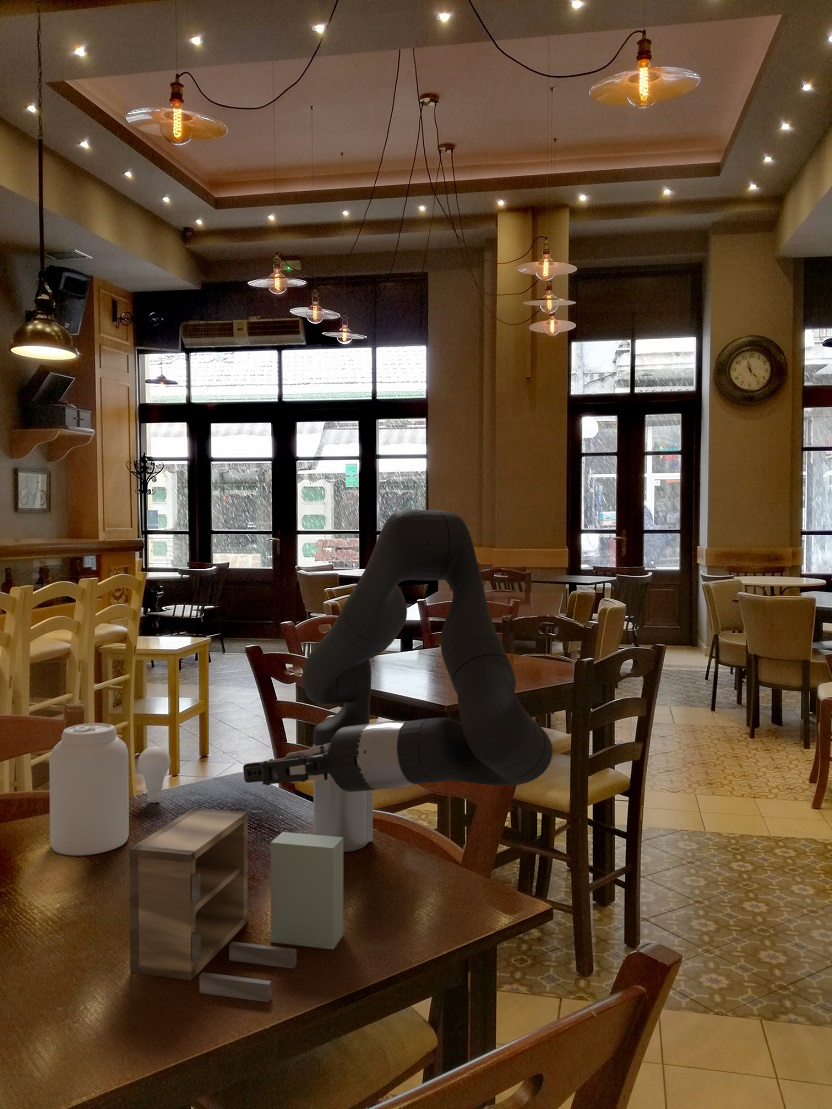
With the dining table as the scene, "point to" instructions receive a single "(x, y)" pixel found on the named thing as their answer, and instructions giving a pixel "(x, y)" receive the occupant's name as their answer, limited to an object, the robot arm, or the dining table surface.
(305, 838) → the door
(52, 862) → the dining table surface
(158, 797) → the lightbulb
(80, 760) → the can
